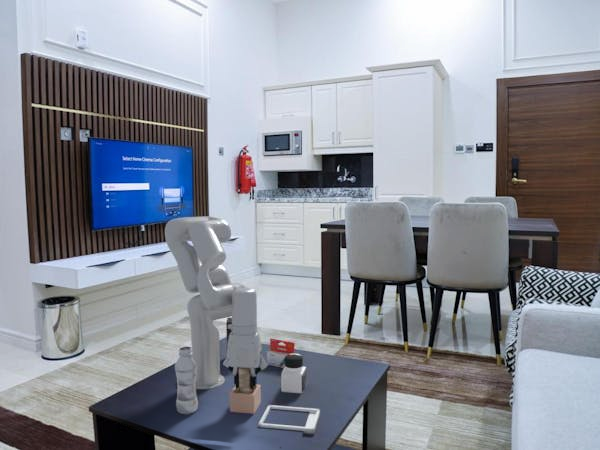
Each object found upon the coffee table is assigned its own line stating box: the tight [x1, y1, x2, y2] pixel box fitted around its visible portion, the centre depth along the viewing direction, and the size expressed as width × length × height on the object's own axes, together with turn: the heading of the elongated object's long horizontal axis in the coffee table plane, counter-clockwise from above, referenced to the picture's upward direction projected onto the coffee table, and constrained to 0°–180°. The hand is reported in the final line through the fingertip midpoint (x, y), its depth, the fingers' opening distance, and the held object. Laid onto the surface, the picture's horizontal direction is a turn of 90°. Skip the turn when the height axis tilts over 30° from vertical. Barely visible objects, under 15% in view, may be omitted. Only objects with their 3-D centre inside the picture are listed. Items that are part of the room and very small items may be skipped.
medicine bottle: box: [280, 353, 307, 394], centre depth 162 cm, size 7×7×12 cm
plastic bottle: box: [174, 346, 199, 415], centre depth 146 cm, size 6×7×20 cm
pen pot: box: [229, 384, 262, 415], centre depth 149 cm, size 8×8×6 cm
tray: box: [257, 404, 321, 435], centre depth 142 cm, size 16×12×2 cm
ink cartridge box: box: [266, 338, 296, 369], centre depth 184 cm, size 2×11×10 cm, turn 61°
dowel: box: [239, 367, 252, 394], centre depth 149 cm, size 4×4×13 cm
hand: (245, 386), depth 149 cm, fingers closed on dowel, 4 cm apart
